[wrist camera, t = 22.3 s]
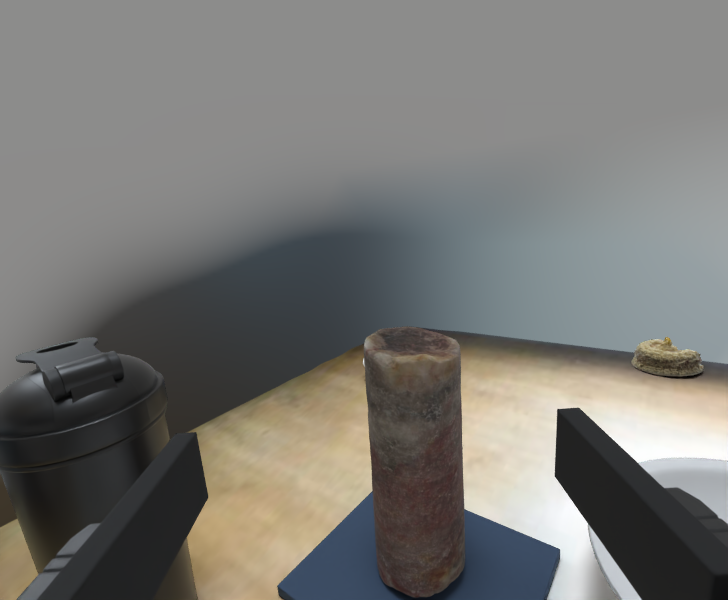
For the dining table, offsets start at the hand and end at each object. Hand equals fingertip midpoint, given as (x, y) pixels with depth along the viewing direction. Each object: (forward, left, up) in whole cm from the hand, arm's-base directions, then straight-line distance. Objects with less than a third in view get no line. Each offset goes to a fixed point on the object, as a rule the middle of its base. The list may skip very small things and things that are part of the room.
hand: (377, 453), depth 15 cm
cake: (+8, +71, -22) cm, 75 cm away
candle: (-7, +14, -21) cm, 26 cm away
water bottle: (-23, -3, -22) cm, 32 cm away
